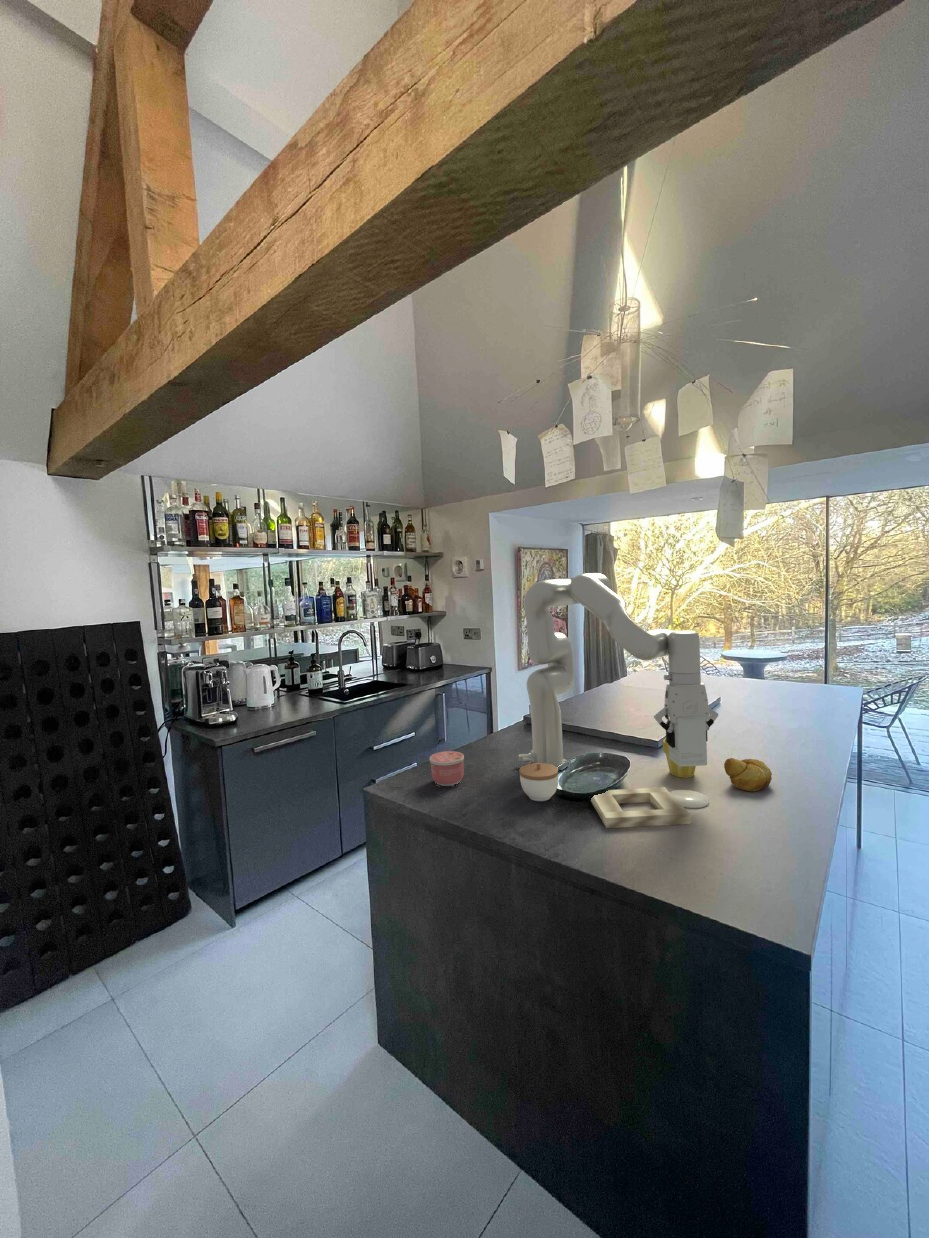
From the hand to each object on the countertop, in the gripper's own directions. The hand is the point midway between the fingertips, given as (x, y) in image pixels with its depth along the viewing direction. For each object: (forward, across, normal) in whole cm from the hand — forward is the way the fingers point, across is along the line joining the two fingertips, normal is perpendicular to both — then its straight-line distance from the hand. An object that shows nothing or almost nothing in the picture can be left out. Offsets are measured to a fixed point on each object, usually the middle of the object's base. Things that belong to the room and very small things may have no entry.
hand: (686, 744), depth 134 cm
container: (+15, -64, +21) cm, 69 cm away
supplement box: (+5, 0, 0) cm, 5 cm away
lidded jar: (+15, -38, +7) cm, 42 cm away
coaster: (+15, 0, 0) cm, 15 cm away
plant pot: (+15, +6, +18) cm, 24 cm away
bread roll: (+15, +20, +7) cm, 26 cm away
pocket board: (+15, -15, -5) cm, 22 cm away
